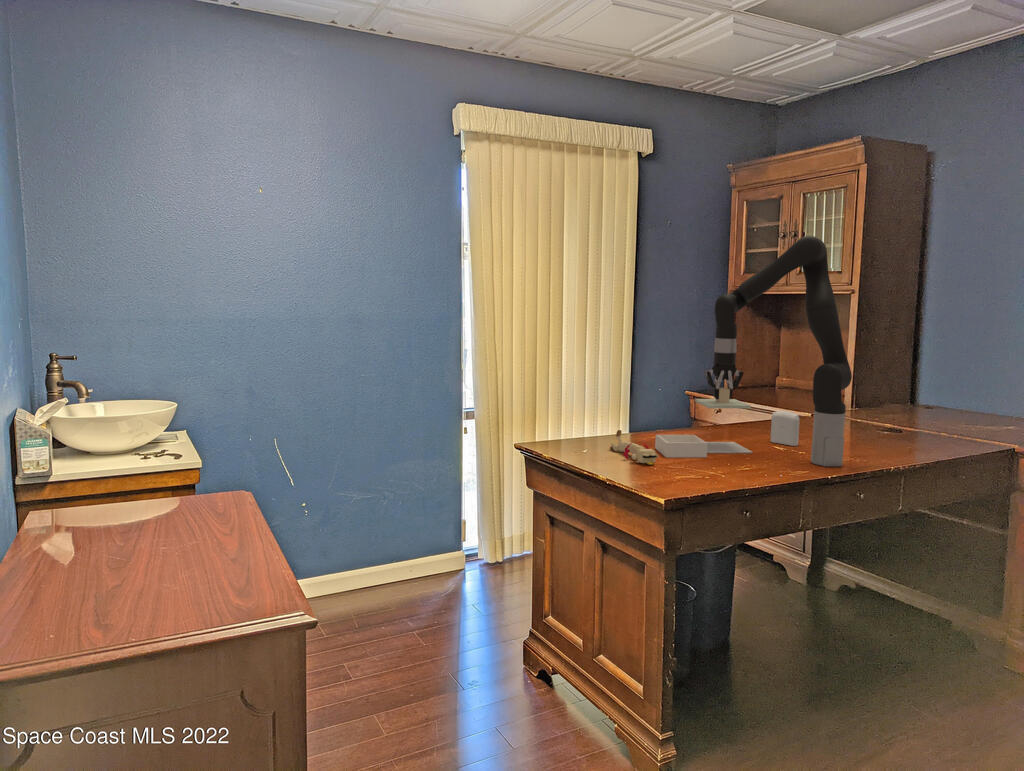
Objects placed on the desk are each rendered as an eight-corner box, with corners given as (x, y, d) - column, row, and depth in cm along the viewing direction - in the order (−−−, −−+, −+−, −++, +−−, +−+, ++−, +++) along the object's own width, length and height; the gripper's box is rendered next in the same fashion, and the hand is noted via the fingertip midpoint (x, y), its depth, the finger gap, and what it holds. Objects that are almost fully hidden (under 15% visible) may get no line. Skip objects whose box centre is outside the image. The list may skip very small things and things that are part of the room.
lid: (750, 408, 246) (751, 391, 245) (708, 408, 245) (709, 391, 244) (734, 401, 261) (735, 385, 260) (694, 401, 260) (695, 385, 259)
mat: (752, 453, 247) (752, 452, 247) (704, 453, 246) (704, 452, 246) (733, 442, 264) (734, 441, 264) (689, 442, 263) (689, 441, 263)
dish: (706, 457, 239) (707, 442, 239) (666, 457, 238) (666, 442, 238) (693, 448, 253) (694, 434, 253) (655, 448, 252) (655, 434, 252)
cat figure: (604, 455, 248) (638, 465, 224) (604, 430, 247) (638, 438, 224) (629, 453, 251) (666, 463, 227) (629, 428, 250) (666, 436, 227)
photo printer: (768, 442, 266) (770, 409, 265) (774, 440, 269) (776, 408, 267) (793, 447, 258) (796, 413, 257) (799, 445, 261) (802, 412, 259)
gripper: (709, 351, 246) (706, 400, 248) (748, 352, 247) (745, 400, 249) (702, 350, 254) (699, 397, 256) (740, 350, 254) (737, 397, 257)
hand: (722, 398), depth 253 cm, fingers closed on lid, 3 cm apart
